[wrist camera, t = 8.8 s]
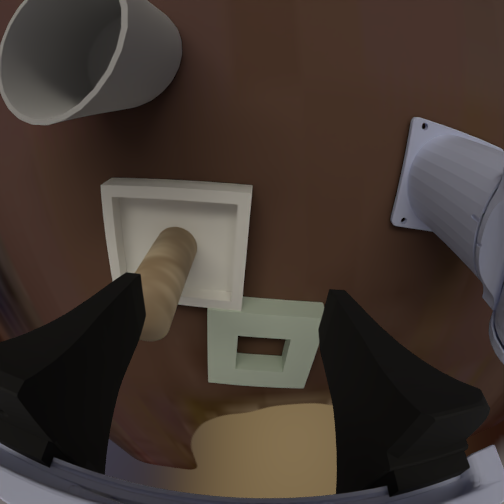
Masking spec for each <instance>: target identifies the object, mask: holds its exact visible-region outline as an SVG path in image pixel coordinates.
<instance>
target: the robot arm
mask: <svg viewBox="0 0 504 504" xmlns="http://www.w3.org/2000/svg"><path fill="white" fill-rule="evenodd" d="M423 123H425V129H422V124H423ZM402 218H405V220H404V221H403V222H401V219H402ZM390 220H391V222H392V224H393V225H394V226H399V227H406V228H412V229H419V230H426V231H432V232H434V233H435V234H436V235H437V236H438V237H439V238H440V239H441V240H442V241H443V242H444V243H445V244H446V245H447V246H448V247H449V248H450V249H451V250H452V251H453V252H454V253H455V254H456V255H457V256H458V257H459V258H460V259H461V260H462V261H463V262H464V263H465V264H466V265H467V266H468V268H469V269H470V270H471V271H472V272H473V273H474V274H475V275H476V276H477V277H478V278H479V280H480V281H481V282H482V284H483V288H484V291H483V299H484V300H485V301H486V302H487V304H488V305H489V306H490V307H491V309H492V310H493V312H492V315H491V318H490V322H489V338H490V342H491V345H492V347H493V349H494V351H495V353H496V355H497V356H498V358H499V359H500V361H501V362H502V363H503V364H504V151H503V150H502V149H501V148H499V147H497V146H494V145H492V144H490V143H488V142H485V141H483V140H481V139H478V138H476V137H473V136H471V135H468V134H466V133H463V132H460V131H458V130H455V129H452V128H449V127H447V126H444V125H441V124H438V123H435V122H432V121H429V120H426V119H423V118H419V117H414V118H413V119H412V120H411V123H410V129H409V135H408V141H407V146H406V152H405V157H404V162H403V167H402V171H401V176H400V181H399V185H398V189H397V194H396V198H395V202H394V206H393V210H392V214H391V218H390ZM145 318H146V310H145V304H144V296H143V289H142V281H141V274H137V273H128V272H126V273H124V274H123V275H121V276H120V277H118V278H117V279H116V280H114V281H113V282H111V283H110V284H109V285H107V286H106V287H105V288H103V289H102V290H100V291H99V292H98V293H96V294H95V295H94V296H92V297H91V298H89V299H88V300H86V301H85V302H83V303H82V304H80V305H79V306H77V307H76V308H74V309H73V310H71V311H70V312H68V313H66V314H65V315H63V316H61V317H59V318H58V319H56V320H54V321H52V322H50V323H48V324H46V325H44V326H42V327H40V328H37V329H35V330H33V331H31V332H28V333H26V334H23V335H21V336H18V337H15V338H12V339H9V340H6V341H3V342H0V499H1V500H3V501H4V502H6V503H8V504H119V503H118V502H121V503H124V504H501V503H502V502H504V468H503V466H502V463H501V461H500V458H499V455H498V453H497V450H496V448H495V445H491V446H489V447H486V448H484V449H482V450H479V451H477V452H475V453H473V454H471V455H469V456H468V457H466V454H465V452H464V451H465V450H466V449H467V448H468V444H467V441H466V439H467V438H468V437H469V436H470V435H471V434H472V433H473V432H474V431H475V430H476V429H477V428H478V427H479V426H480V425H481V424H482V423H483V422H484V421H485V420H486V418H487V416H488V414H489V411H490V407H489V405H488V403H487V401H486V399H485V397H484V395H483V393H482V391H481V390H480V389H478V388H476V387H473V386H471V385H468V384H466V383H463V382H461V381H458V380H456V379H454V378H452V377H450V376H448V375H446V374H445V373H443V372H441V371H439V370H437V369H436V368H434V367H432V366H431V365H429V364H427V363H426V362H424V361H423V360H421V359H420V358H418V357H417V356H415V355H414V354H413V353H411V352H410V351H409V350H407V349H406V348H405V347H403V346H402V345H401V344H400V343H398V342H397V341H396V340H395V339H394V338H393V337H391V336H390V335H389V334H388V333H387V332H386V331H385V330H384V329H383V328H382V327H381V326H379V325H378V324H377V323H376V322H375V321H374V320H373V319H372V318H371V317H370V316H369V315H368V314H367V313H366V312H365V310H364V309H363V308H362V307H361V306H360V305H359V304H358V303H357V302H356V301H355V300H354V299H353V298H352V297H351V296H350V295H349V294H348V293H347V292H346V291H345V290H331V289H329V293H328V297H327V300H326V304H325V307H324V311H323V315H322V318H321V321H320V325H319V328H318V333H319V343H320V351H321V356H322V360H323V364H324V368H325V372H326V377H327V381H328V385H329V389H330V393H331V398H332V403H333V409H334V420H335V431H336V447H337V484H336V486H337V487H336V494H334V495H325V496H314V497H299V498H235V497H220V496H209V495H200V494H191V493H185V492H177V491H172V490H166V489H161V488H156V487H150V486H146V485H141V484H137V483H132V482H129V481H124V480H121V479H117V478H114V477H110V476H107V475H105V464H106V454H107V446H108V439H109V433H110V427H111V422H112V417H113V412H114V408H115V404H116V400H117V396H118V392H119V388H120V386H121V383H122V380H123V377H124V375H125V372H126V370H127V367H128V365H129V363H130V360H131V358H132V355H133V353H134V351H135V348H136V346H137V343H138V341H139V339H140V336H141V333H142V329H143V325H144V322H145ZM113 500H114V501H113ZM115 501H117V502H115Z"/></svg>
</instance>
